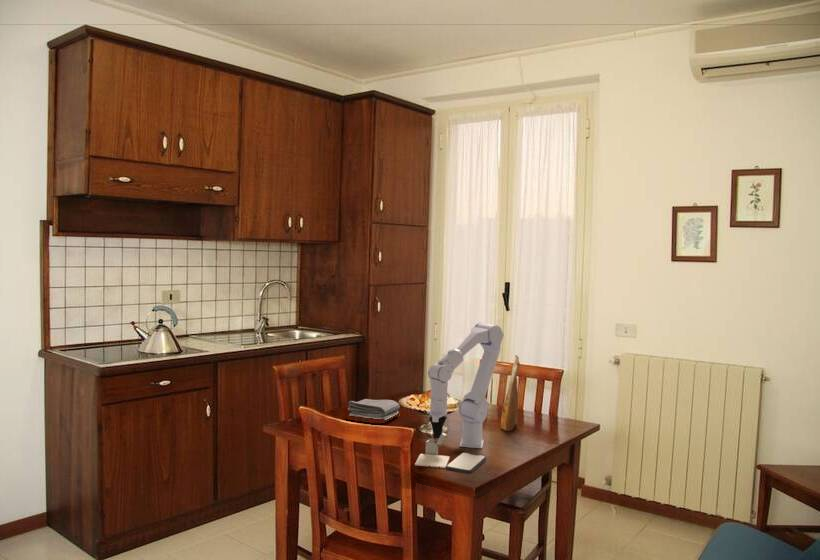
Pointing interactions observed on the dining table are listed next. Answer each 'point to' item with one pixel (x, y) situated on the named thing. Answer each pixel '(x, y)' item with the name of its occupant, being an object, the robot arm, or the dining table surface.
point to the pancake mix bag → (511, 400)
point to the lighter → (434, 445)
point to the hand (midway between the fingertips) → (437, 437)
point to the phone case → (466, 462)
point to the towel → (374, 409)
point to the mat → (432, 460)
